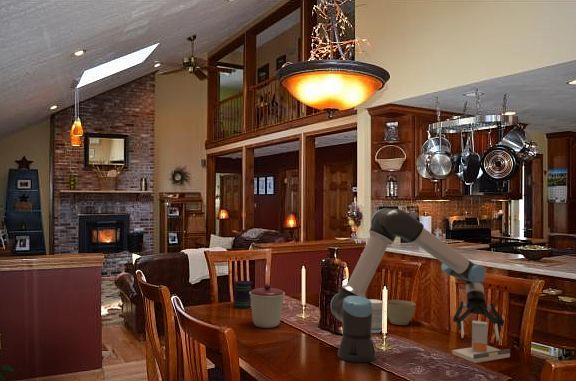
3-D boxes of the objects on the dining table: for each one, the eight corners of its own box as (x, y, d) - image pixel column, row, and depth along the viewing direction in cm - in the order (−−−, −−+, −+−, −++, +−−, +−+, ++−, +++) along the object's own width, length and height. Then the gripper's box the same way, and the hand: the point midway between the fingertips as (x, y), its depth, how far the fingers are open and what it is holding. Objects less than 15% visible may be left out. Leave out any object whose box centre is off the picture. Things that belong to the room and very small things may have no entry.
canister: (243, 328, 230) (244, 285, 230) (254, 319, 247) (255, 279, 248) (279, 331, 225) (280, 287, 226) (288, 322, 243) (289, 281, 243)
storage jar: (254, 307, 278) (254, 281, 278) (244, 310, 269) (244, 283, 270) (240, 304, 283) (241, 280, 283) (230, 307, 275) (231, 282, 275)
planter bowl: (421, 326, 243) (422, 304, 243) (395, 328, 237) (395, 306, 237) (403, 318, 258) (403, 298, 258) (378, 320, 252) (378, 300, 252)
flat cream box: (475, 363, 186) (475, 355, 186) (452, 354, 197) (452, 346, 197) (510, 357, 195) (510, 349, 195) (486, 348, 206) (486, 341, 206)
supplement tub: (387, 332, 229) (387, 301, 229) (372, 334, 224) (373, 303, 224) (373, 327, 237) (373, 298, 238) (359, 330, 232) (359, 300, 232)
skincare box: (471, 351, 196) (471, 322, 197) (471, 348, 200) (472, 320, 200) (487, 353, 194) (487, 324, 194) (487, 350, 198) (487, 321, 198)
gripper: (504, 301, 209) (511, 345, 194) (445, 297, 215) (447, 339, 200) (506, 291, 204) (514, 335, 189) (446, 288, 210) (449, 330, 195)
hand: (480, 337), depth 195 cm, fingers open, 13 cm apart
